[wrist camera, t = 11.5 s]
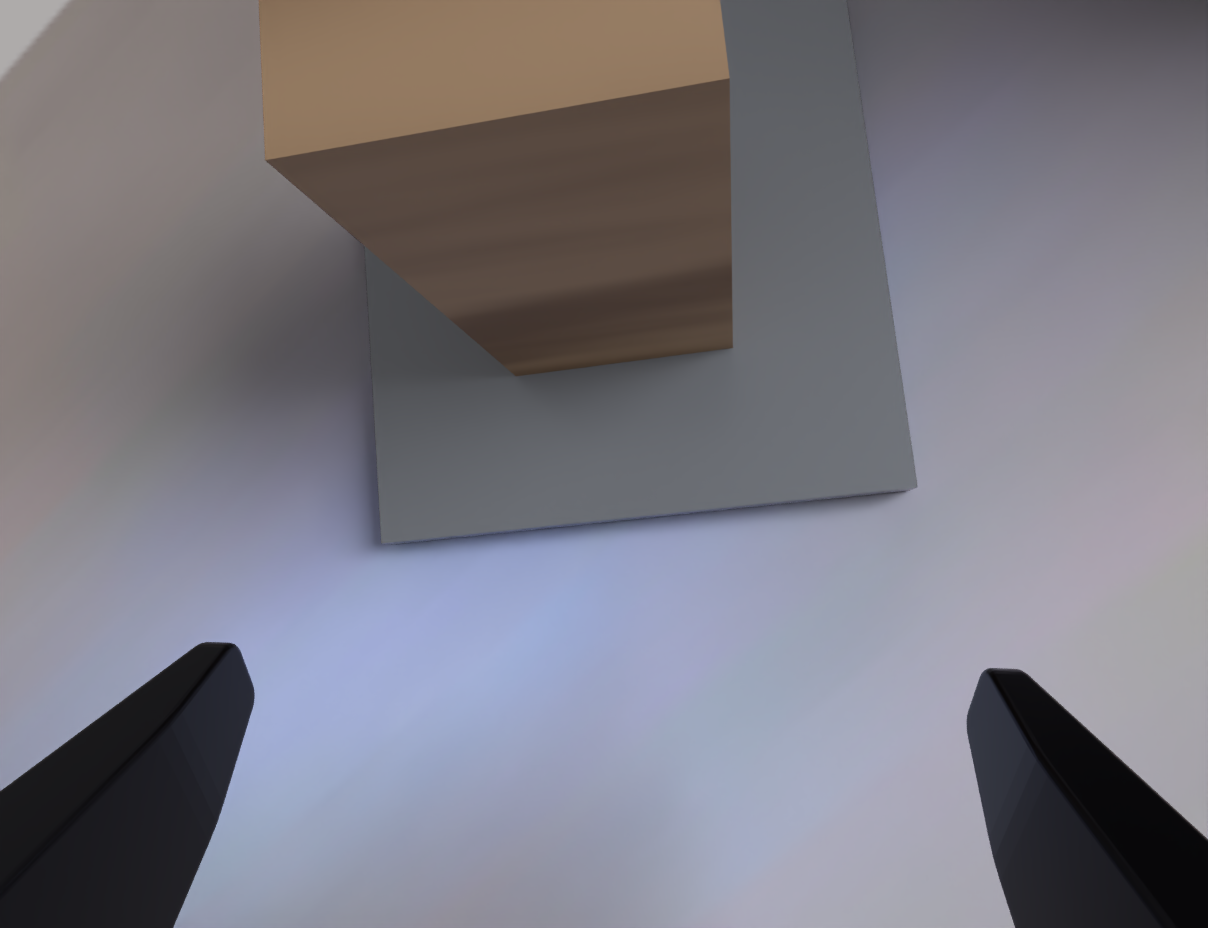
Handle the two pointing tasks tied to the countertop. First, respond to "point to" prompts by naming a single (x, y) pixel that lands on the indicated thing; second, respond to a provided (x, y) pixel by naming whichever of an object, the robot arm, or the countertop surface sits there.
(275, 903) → the countertop surface
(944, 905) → the countertop surface
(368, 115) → the walnut block
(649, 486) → the plate
